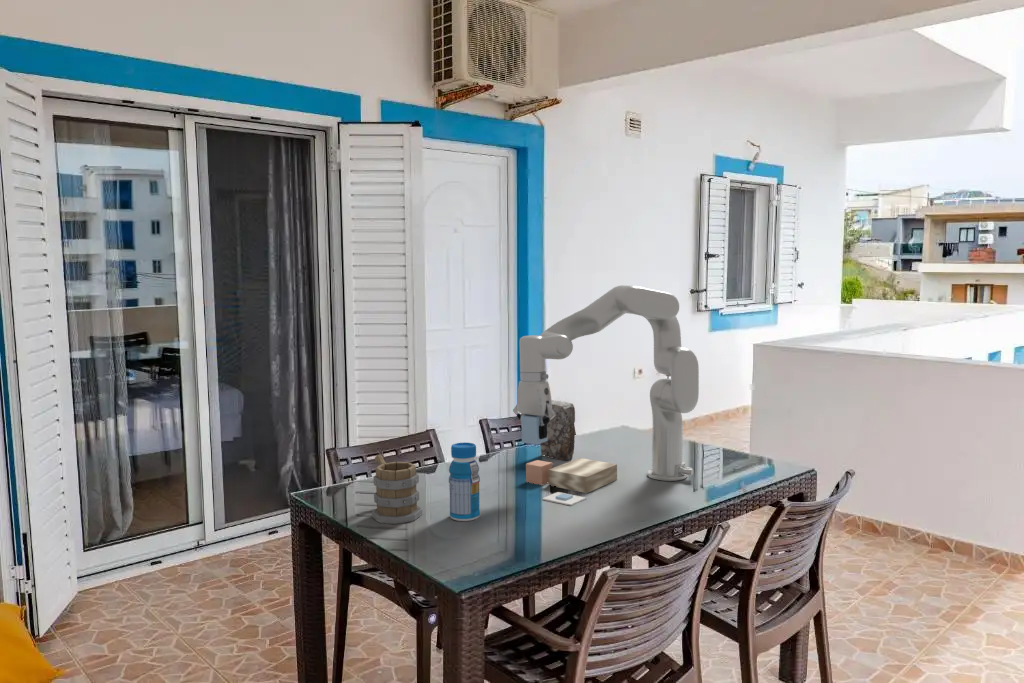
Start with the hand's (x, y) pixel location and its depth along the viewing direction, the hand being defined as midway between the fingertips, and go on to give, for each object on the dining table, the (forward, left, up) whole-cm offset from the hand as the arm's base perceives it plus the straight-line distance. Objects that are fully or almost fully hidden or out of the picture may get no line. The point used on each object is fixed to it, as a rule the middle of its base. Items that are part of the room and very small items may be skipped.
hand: (534, 436), depth 224 cm
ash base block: (-6, -18, -17) cm, 25 cm away
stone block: (+19, -40, -17) cm, 47 cm away
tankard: (+21, +38, -17) cm, 47 cm away
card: (-11, 0, -17) cm, 20 cm away
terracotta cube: (+6, -11, -17) cm, 21 cm away
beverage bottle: (+2, +29, -17) cm, 34 cm away
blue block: (0, 0, -2) cm, 2 cm away
